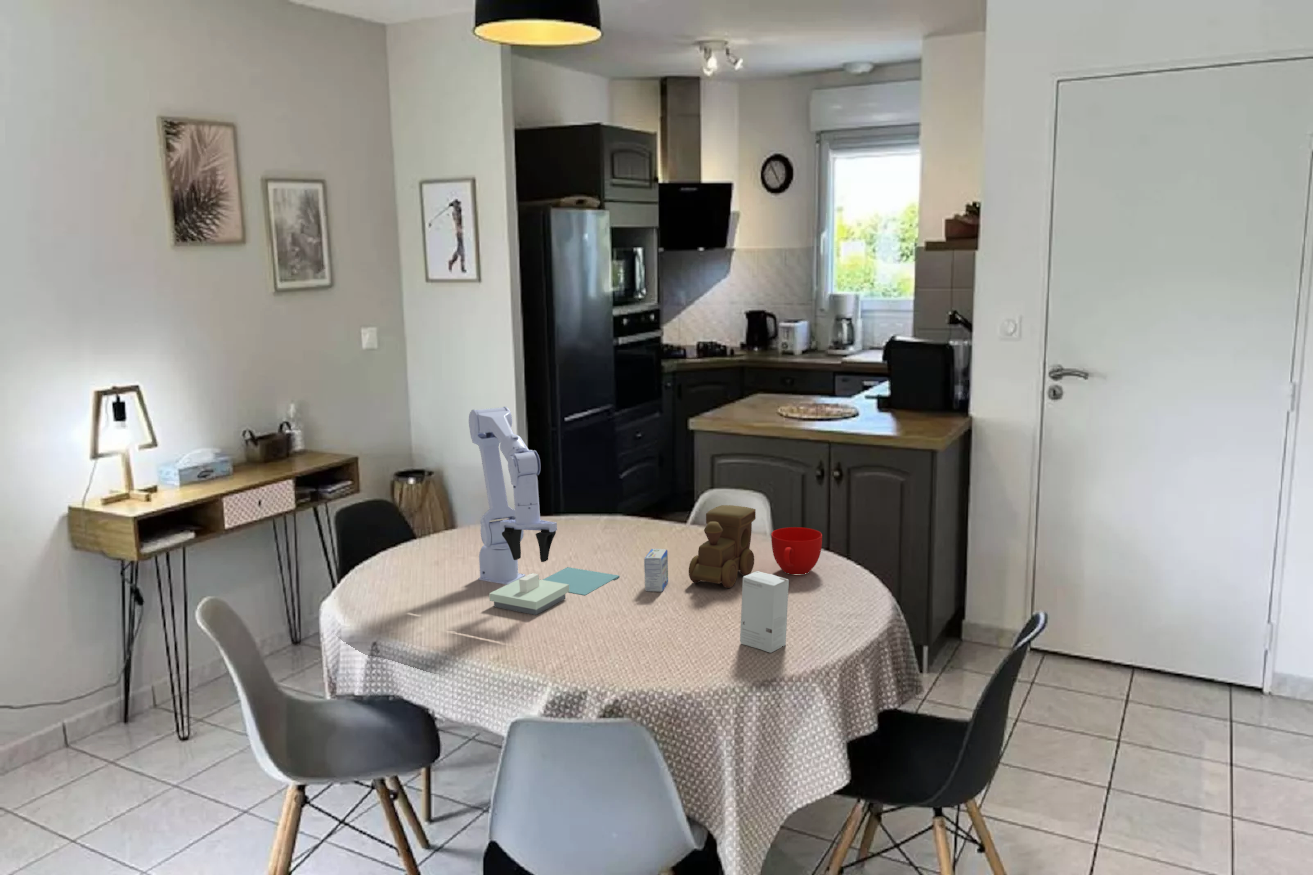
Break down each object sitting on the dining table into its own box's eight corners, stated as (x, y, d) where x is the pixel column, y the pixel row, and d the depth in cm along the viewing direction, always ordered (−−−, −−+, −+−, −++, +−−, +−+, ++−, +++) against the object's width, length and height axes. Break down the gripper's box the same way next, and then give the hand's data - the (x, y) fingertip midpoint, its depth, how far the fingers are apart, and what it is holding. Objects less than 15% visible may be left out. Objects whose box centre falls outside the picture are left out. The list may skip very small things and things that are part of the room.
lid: (489, 600, 227) (488, 581, 226) (524, 583, 239) (523, 564, 238) (536, 609, 221) (535, 589, 220) (569, 591, 232) (568, 572, 231)
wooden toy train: (719, 564, 257) (719, 503, 254) (759, 570, 252) (759, 508, 249) (684, 586, 240) (683, 522, 237) (726, 593, 235) (726, 527, 232)
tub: (494, 608, 228) (493, 596, 227) (525, 592, 238) (524, 581, 238) (535, 616, 222) (535, 604, 222) (565, 600, 232) (565, 588, 232)
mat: (531, 587, 242) (531, 585, 242) (567, 568, 256) (567, 567, 256) (585, 596, 234) (585, 594, 234) (619, 577, 248) (619, 575, 248)
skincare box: (739, 644, 204) (739, 576, 201) (755, 635, 209) (755, 569, 206) (773, 654, 199) (773, 584, 196) (789, 645, 203) (789, 577, 200)
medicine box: (662, 592, 236) (661, 558, 235) (644, 591, 237) (643, 557, 236) (668, 582, 244) (667, 548, 242) (651, 581, 245) (650, 548, 243)
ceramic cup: (760, 581, 243) (760, 543, 241) (778, 561, 258) (778, 525, 257) (811, 587, 238) (812, 547, 236) (826, 566, 254) (827, 529, 252)
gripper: (491, 505, 226) (495, 562, 228) (544, 507, 220) (548, 566, 222) (508, 499, 233) (512, 555, 234) (560, 501, 226) (563, 558, 228)
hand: (530, 560), depth 228 cm, fingers open, 7 cm apart
